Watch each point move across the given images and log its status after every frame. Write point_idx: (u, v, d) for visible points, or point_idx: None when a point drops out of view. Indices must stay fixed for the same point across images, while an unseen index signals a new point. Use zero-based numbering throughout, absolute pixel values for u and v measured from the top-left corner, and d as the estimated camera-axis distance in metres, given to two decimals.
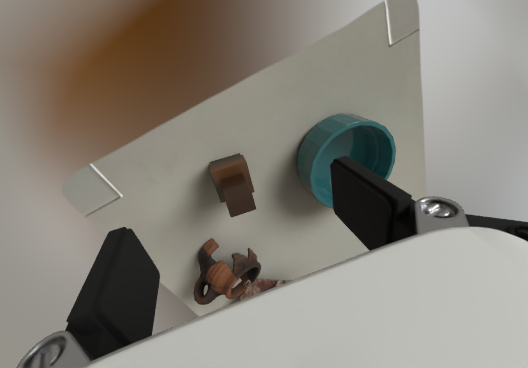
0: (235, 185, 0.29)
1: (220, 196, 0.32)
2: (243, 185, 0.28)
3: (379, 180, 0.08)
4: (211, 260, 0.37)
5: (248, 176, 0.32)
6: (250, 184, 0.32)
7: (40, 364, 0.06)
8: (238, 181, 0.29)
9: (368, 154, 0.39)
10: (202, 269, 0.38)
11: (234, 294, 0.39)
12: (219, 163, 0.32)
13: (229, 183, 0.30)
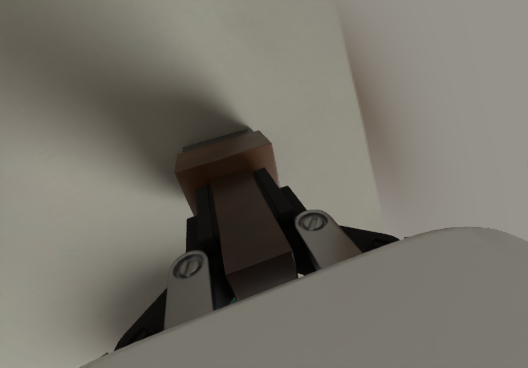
0: None
1: (196, 169, 0.11)
2: None
3: (276, 193, 0.09)
4: None
5: None
6: None
7: (187, 270, 0.07)
8: None
9: None
10: None
11: None
12: None
13: None
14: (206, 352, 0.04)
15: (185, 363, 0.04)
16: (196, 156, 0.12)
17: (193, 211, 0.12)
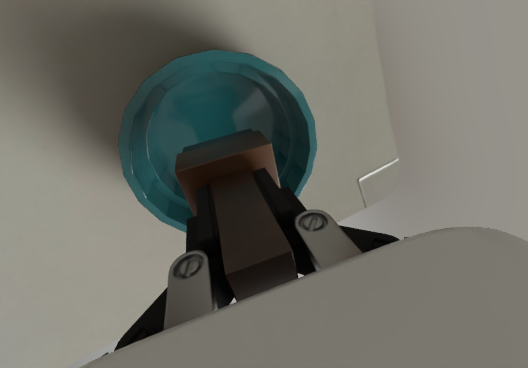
0: None
1: (196, 169, 0.11)
2: None
3: (276, 193, 0.09)
4: None
5: None
6: None
7: (187, 270, 0.07)
8: None
9: None
10: None
11: None
12: None
13: None
14: (206, 352, 0.04)
15: (185, 363, 0.04)
16: (196, 156, 0.12)
17: (193, 211, 0.12)
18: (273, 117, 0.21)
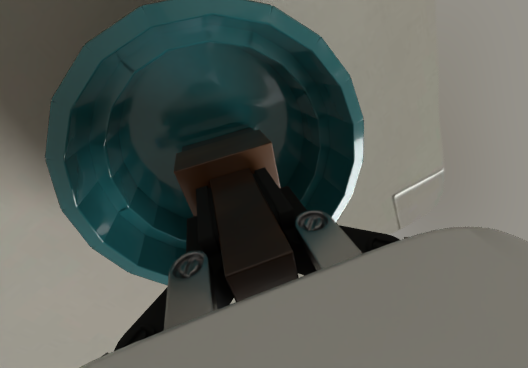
0: None
1: (196, 169, 0.11)
2: None
3: (276, 193, 0.09)
4: None
5: None
6: None
7: (187, 270, 0.07)
8: None
9: None
10: None
11: None
12: None
13: None
14: (206, 352, 0.04)
15: (185, 363, 0.04)
16: (195, 155, 0.12)
17: (192, 211, 0.12)
18: (292, 116, 0.15)
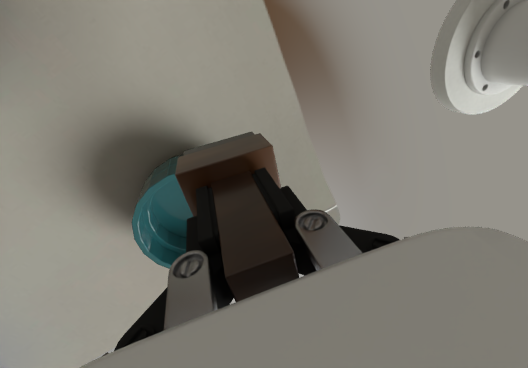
0: None
1: (197, 172, 0.11)
2: None
3: (276, 193, 0.09)
4: None
5: None
6: None
7: (186, 270, 0.07)
8: None
9: None
10: None
11: None
12: None
13: None
14: (206, 352, 0.04)
15: (185, 363, 0.04)
16: (197, 159, 0.12)
17: (194, 214, 0.12)
18: None
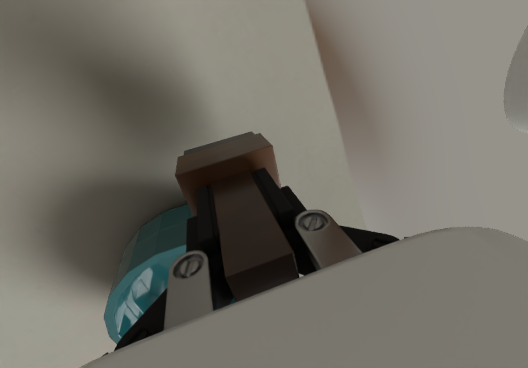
0: None
1: (197, 172, 0.11)
2: None
3: (276, 193, 0.09)
4: None
5: None
6: None
7: (187, 270, 0.07)
8: None
9: None
10: None
11: None
12: None
13: None
14: (206, 352, 0.04)
15: (185, 363, 0.04)
16: (197, 159, 0.12)
17: (194, 214, 0.12)
18: None
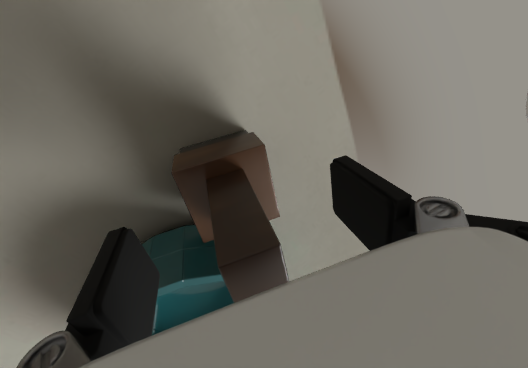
0: None
1: (192, 169, 0.12)
2: None
3: (379, 180, 0.08)
4: None
5: None
6: None
7: (40, 364, 0.06)
8: None
9: None
10: None
11: None
12: None
13: None
14: (206, 352, 0.04)
15: (185, 363, 0.04)
16: (192, 157, 0.13)
17: (189, 210, 0.13)
18: None
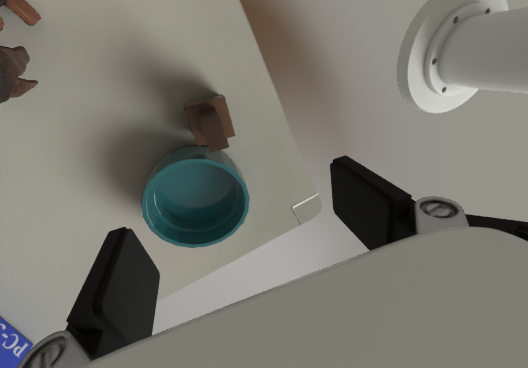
0: None
1: (192, 107, 0.27)
2: None
3: (379, 180, 0.08)
4: None
5: None
6: None
7: (40, 364, 0.06)
8: None
9: (202, 222, 0.38)
10: None
11: None
12: None
13: None
14: (206, 352, 0.04)
15: (185, 363, 0.04)
16: (192, 103, 0.28)
17: (191, 127, 0.28)
18: (228, 175, 0.36)
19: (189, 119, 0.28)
